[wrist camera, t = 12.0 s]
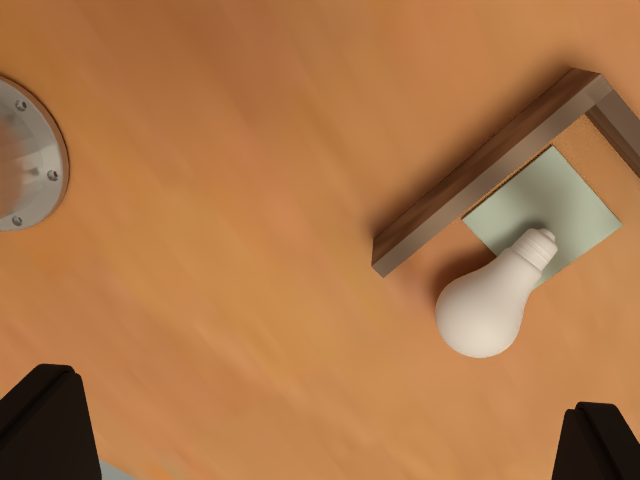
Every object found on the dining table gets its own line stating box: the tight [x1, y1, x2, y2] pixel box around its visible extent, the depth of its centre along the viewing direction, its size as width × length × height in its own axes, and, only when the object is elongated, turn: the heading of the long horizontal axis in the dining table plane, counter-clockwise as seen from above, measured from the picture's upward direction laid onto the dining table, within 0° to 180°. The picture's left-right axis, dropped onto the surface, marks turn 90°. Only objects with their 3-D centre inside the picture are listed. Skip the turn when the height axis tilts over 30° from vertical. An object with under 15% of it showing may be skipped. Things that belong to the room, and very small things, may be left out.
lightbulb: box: [435, 228, 558, 358], centre depth 38 cm, size 6×6×11 cm
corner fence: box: [371, 68, 640, 290], centre depth 37 cm, size 18×18×5 cm
